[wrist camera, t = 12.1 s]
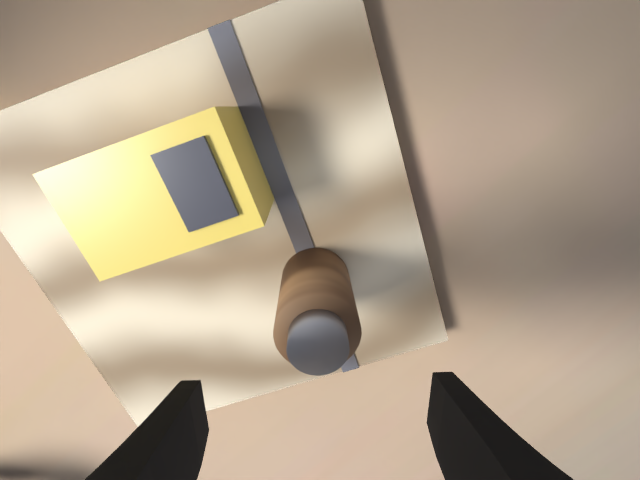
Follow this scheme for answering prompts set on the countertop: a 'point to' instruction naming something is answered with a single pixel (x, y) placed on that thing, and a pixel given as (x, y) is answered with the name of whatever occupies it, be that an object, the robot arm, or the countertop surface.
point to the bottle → (316, 313)
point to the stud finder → (161, 192)
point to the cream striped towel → (248, 248)
